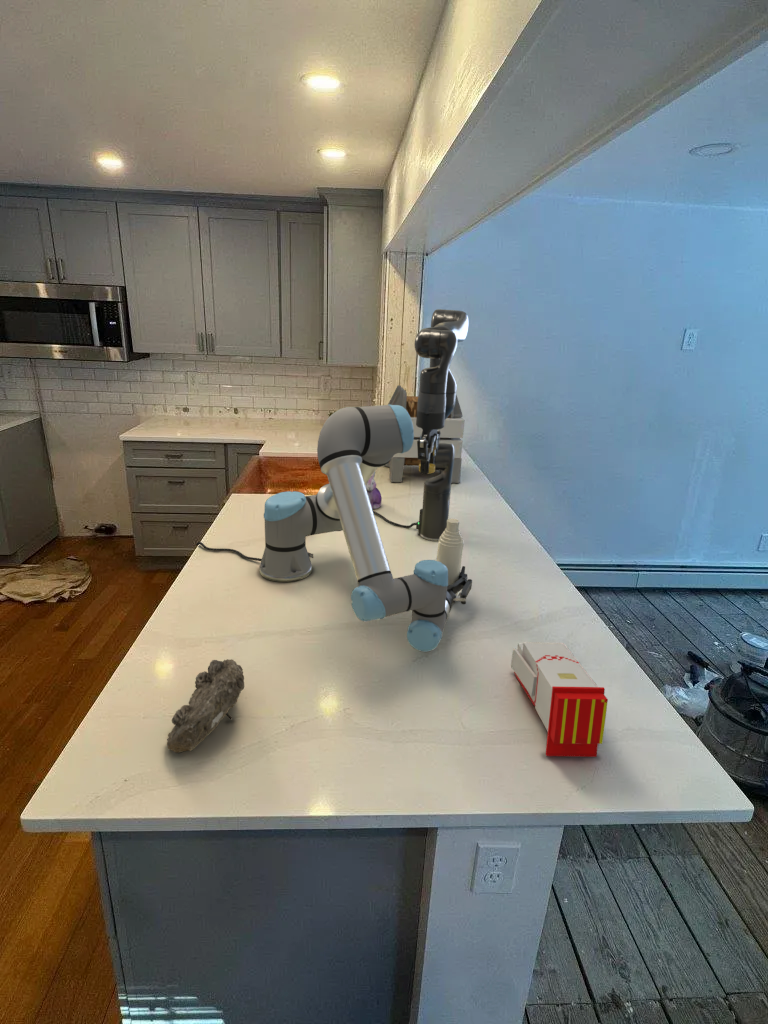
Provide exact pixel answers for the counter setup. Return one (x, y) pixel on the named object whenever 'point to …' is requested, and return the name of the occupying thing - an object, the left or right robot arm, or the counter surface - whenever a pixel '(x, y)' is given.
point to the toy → (562, 697)
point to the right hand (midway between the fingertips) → (426, 471)
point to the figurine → (373, 493)
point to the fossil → (206, 705)
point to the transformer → (448, 433)
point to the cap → (430, 467)
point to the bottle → (451, 550)
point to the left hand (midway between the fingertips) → (450, 568)
